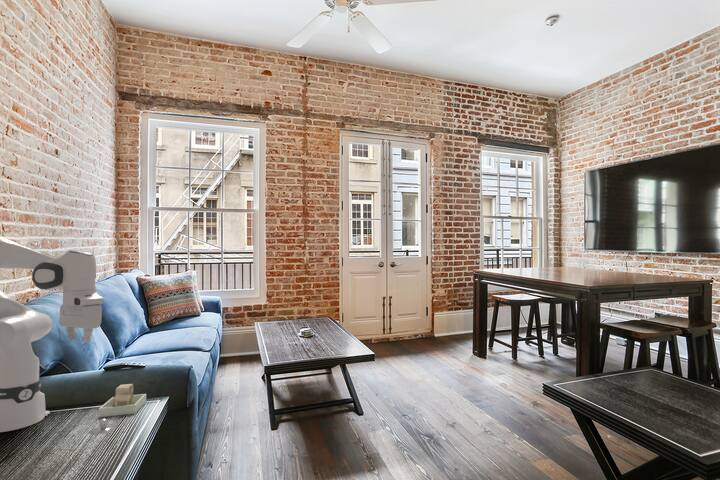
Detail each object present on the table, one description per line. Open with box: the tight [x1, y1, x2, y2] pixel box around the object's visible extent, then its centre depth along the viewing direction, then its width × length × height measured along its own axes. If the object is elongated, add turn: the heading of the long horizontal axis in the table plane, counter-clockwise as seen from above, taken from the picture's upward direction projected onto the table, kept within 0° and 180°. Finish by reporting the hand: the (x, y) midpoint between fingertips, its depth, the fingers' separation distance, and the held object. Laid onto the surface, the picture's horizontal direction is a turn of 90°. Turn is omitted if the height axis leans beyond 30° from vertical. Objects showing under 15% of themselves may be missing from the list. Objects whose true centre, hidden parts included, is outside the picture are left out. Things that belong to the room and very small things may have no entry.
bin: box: [98, 393, 147, 418], centre depth 140 cm, size 12×12×4 cm
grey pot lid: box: [88, 418, 119, 436], centre depth 123 cm, size 8×8×4 cm
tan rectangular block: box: [114, 383, 134, 406], centre depth 140 cm, size 4×4×9 cm
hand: (78, 340), depth 121 cm, fingers open, 8 cm apart
